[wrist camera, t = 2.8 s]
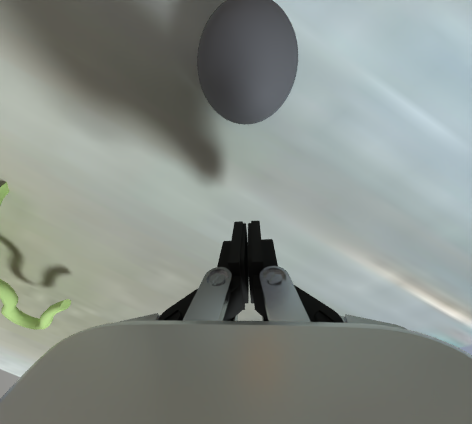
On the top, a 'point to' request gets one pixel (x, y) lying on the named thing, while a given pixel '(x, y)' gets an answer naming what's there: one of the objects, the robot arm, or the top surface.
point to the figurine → (11, 299)
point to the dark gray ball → (247, 60)
